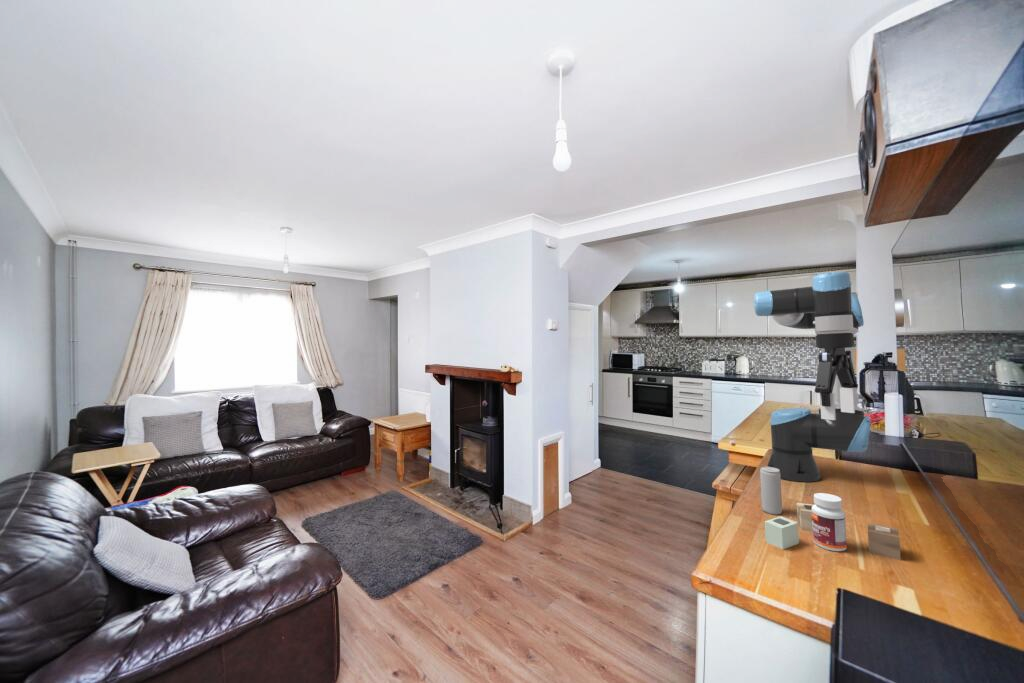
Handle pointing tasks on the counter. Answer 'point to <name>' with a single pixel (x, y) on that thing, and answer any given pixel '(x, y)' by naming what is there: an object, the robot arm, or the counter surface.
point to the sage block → (781, 532)
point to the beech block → (804, 516)
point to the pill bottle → (828, 522)
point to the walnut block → (884, 541)
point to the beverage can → (771, 490)
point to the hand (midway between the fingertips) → (838, 415)
